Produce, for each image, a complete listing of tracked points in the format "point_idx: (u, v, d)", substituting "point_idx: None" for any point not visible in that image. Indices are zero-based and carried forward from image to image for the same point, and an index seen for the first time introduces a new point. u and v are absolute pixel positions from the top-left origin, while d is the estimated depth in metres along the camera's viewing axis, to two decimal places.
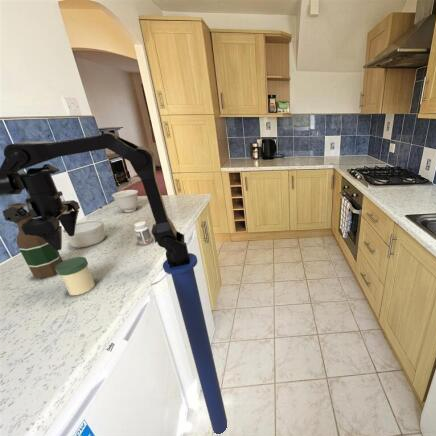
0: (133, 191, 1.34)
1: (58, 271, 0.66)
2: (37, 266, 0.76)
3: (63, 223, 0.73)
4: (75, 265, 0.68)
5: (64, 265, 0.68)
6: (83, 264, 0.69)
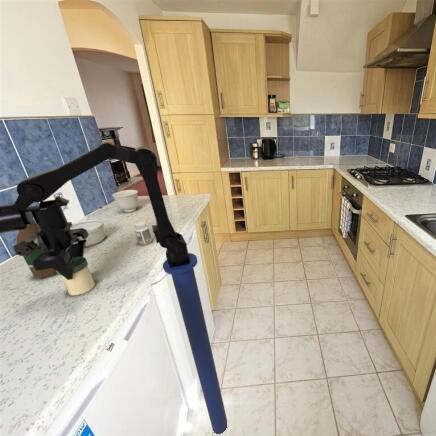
0: (133, 191, 1.34)
1: None
2: None
3: (71, 253, 0.71)
4: (75, 265, 0.68)
5: None
6: (83, 264, 0.69)
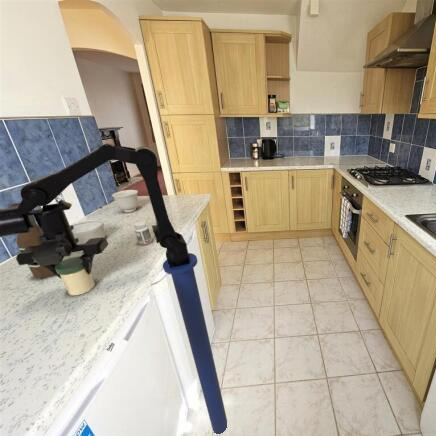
0: (133, 191, 1.34)
1: (78, 266, 0.68)
2: (37, 266, 0.76)
3: (54, 266, 0.67)
4: None
5: (71, 264, 0.68)
6: None
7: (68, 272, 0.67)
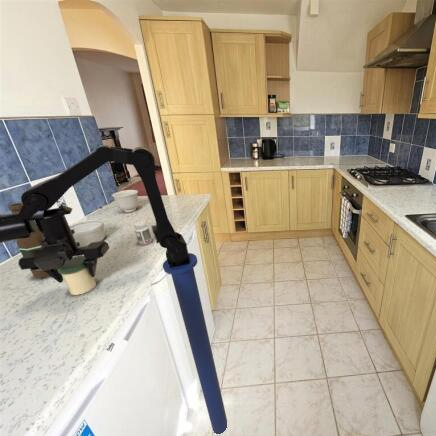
0: (133, 191, 1.34)
1: (80, 265, 0.68)
2: None
3: (53, 270, 0.68)
4: (82, 257, 0.71)
5: (72, 264, 0.68)
6: None
7: (70, 272, 0.67)
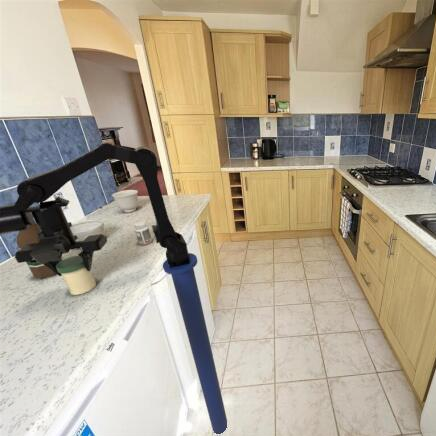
0: (133, 191, 1.34)
1: None
2: (37, 266, 0.76)
3: (52, 263, 0.67)
4: (69, 258, 0.71)
5: (77, 259, 0.70)
6: None
7: None
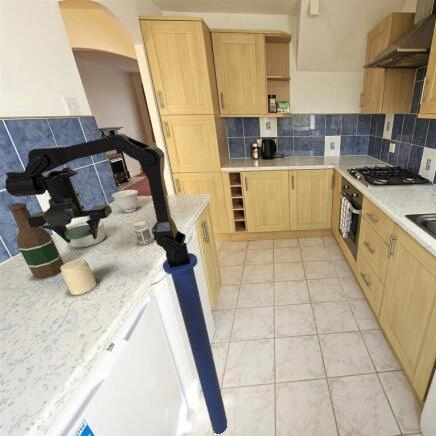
0: (133, 191, 1.34)
1: None
2: (37, 266, 0.76)
3: (61, 230, 0.72)
4: (76, 227, 0.76)
5: (84, 228, 0.75)
6: None
7: None
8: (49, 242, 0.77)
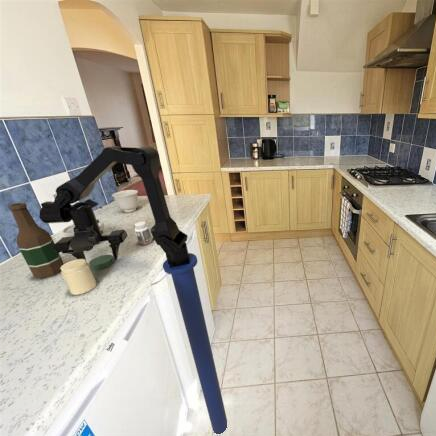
0: (133, 191, 1.34)
1: None
2: (37, 266, 0.76)
3: (79, 254, 0.80)
4: (98, 257, 0.86)
5: (106, 258, 0.85)
6: None
7: (113, 260, 0.86)
8: (49, 242, 0.77)
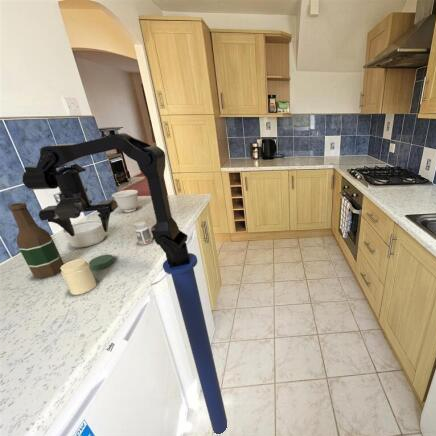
0: (133, 191, 1.34)
1: None
2: (37, 266, 0.76)
3: (66, 224, 0.76)
4: (98, 257, 0.86)
5: (106, 258, 0.85)
6: None
7: (113, 260, 0.86)
8: (49, 242, 0.77)
